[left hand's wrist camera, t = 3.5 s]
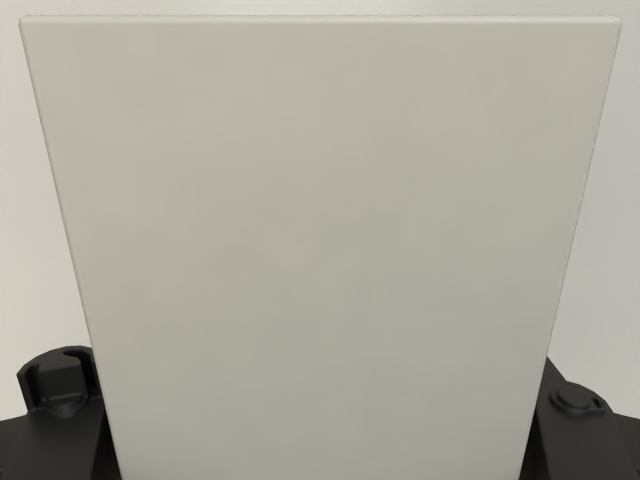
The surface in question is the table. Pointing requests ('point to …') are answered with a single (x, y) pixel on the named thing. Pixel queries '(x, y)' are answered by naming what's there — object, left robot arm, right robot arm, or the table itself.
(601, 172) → the table surface
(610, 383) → the table surface
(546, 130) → the beam
